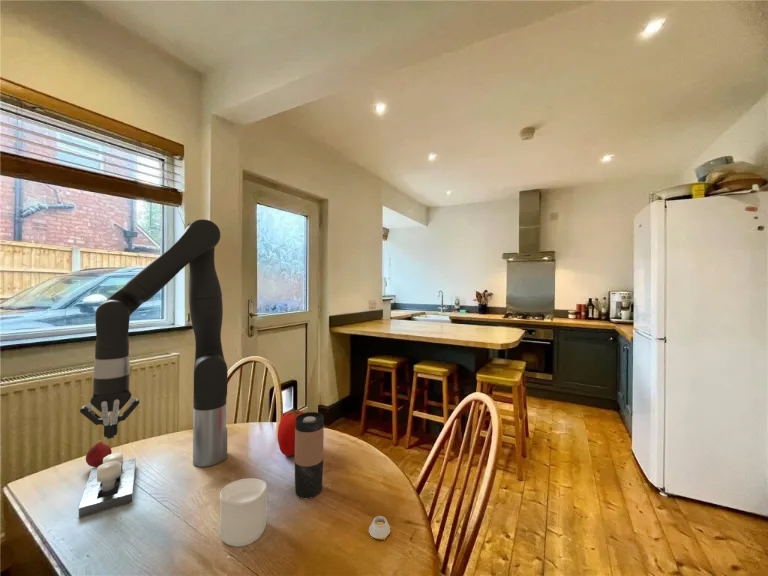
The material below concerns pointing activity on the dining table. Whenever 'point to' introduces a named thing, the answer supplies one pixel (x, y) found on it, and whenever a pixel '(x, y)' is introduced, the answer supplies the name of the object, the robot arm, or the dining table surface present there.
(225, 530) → the cup
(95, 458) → the onion
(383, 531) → the lidless jar
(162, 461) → the dining table surface
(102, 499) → the mount panel
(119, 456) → the knob far
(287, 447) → the tomato
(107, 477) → the knob near
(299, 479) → the travel mug
